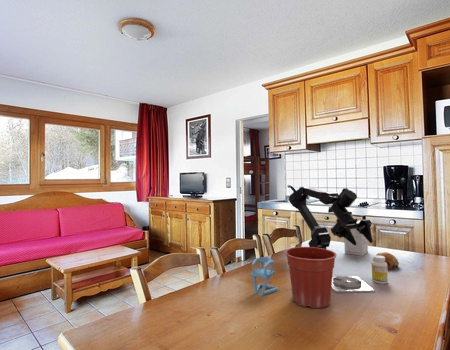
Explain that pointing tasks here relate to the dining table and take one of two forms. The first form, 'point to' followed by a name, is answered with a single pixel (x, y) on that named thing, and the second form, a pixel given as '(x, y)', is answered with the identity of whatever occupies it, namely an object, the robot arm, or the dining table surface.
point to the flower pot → (311, 275)
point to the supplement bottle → (379, 270)
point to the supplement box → (360, 246)
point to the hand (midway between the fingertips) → (363, 243)
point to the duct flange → (350, 284)
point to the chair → (263, 276)
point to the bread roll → (389, 260)
